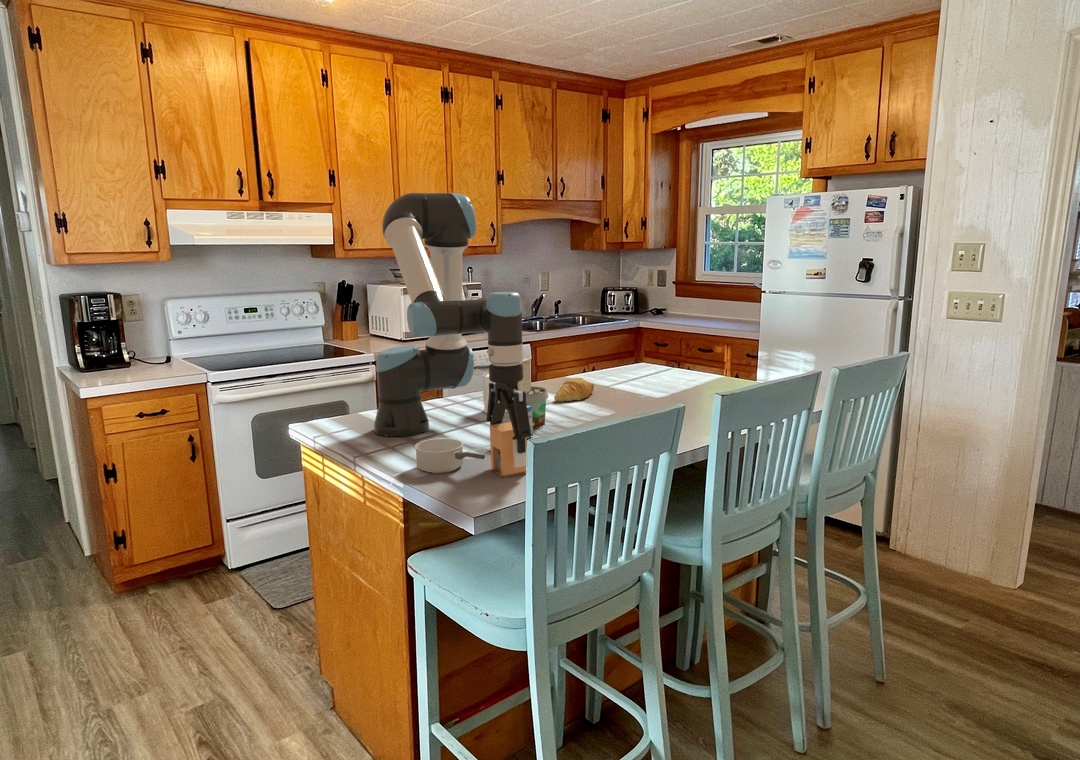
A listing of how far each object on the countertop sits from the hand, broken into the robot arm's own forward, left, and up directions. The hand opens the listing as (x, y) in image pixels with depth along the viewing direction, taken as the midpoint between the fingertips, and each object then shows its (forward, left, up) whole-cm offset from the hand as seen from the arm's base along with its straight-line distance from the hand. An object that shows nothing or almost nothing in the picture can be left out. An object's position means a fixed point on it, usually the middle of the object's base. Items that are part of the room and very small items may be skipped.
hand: (508, 459), depth 154 cm
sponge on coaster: (0, 0, -3) cm, 3 cm away
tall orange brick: (0, 0, -2) cm, 2 cm away
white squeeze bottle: (-54, +22, -3) cm, 59 cm away
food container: (-33, +26, -3) cm, 42 cm away
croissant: (-58, +53, -3) cm, 78 cm away
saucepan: (-8, -11, -3) cm, 14 cm away
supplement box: (-69, +38, -3) cm, 79 cm away
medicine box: (-22, +14, -3) cm, 26 cm away
